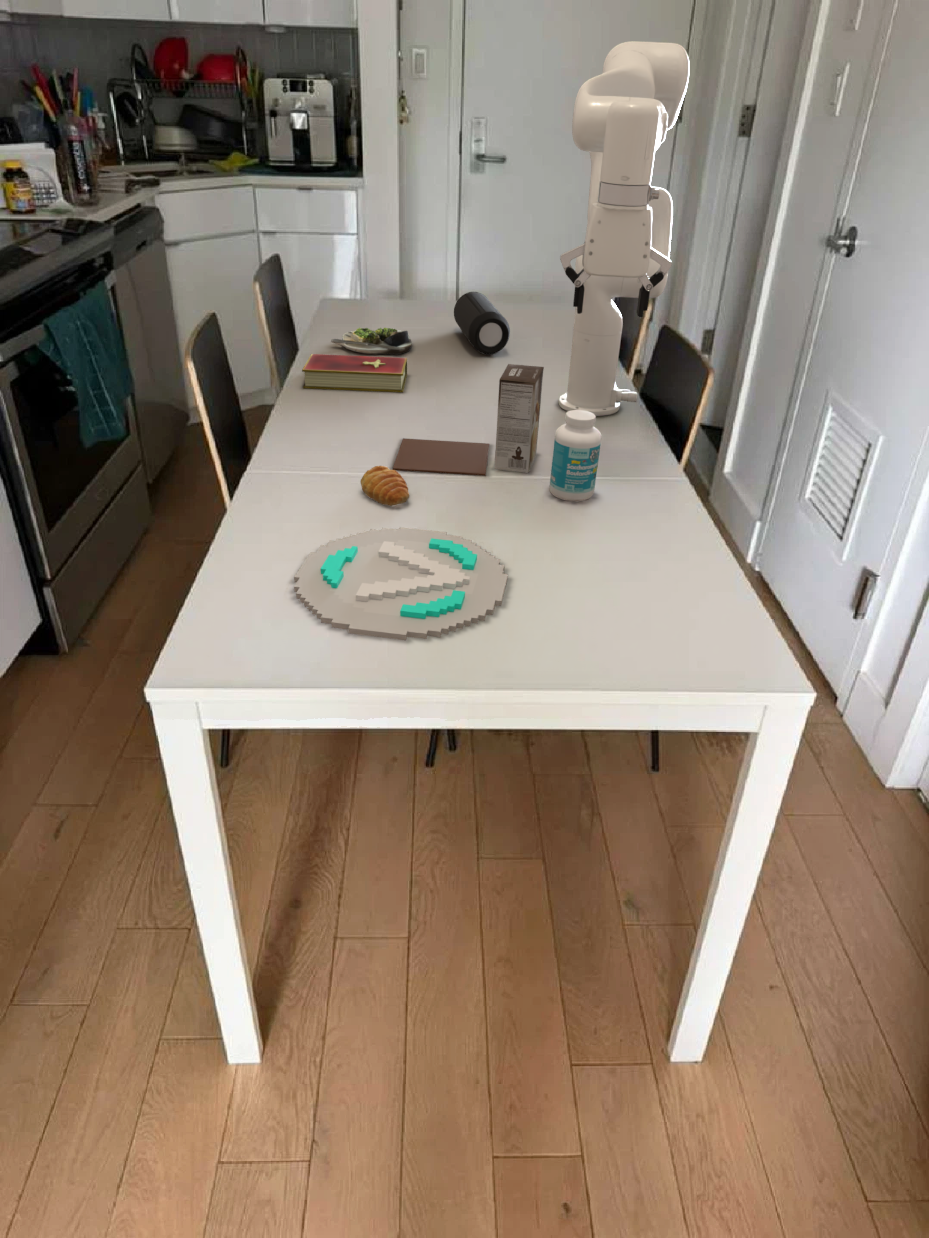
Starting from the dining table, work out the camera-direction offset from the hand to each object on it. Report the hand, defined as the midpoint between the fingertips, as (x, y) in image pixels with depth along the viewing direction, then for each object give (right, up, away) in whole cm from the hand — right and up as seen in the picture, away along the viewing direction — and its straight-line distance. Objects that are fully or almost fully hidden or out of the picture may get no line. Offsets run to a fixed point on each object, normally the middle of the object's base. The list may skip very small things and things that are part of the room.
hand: (609, 313), depth 142 cm
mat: (-27, -20, +15) cm, 37 cm away
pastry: (-36, -29, +1) cm, 46 cm away
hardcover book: (-47, +2, +49) cm, 68 cm away
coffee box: (-14, -21, +15) cm, 30 cm away
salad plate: (-44, +17, +72) cm, 86 cm away
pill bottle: (-6, -28, +4) cm, 29 cm away
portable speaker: (-19, +20, +78) cm, 83 cm away
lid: (-32, -44, -22) cm, 58 cm away
